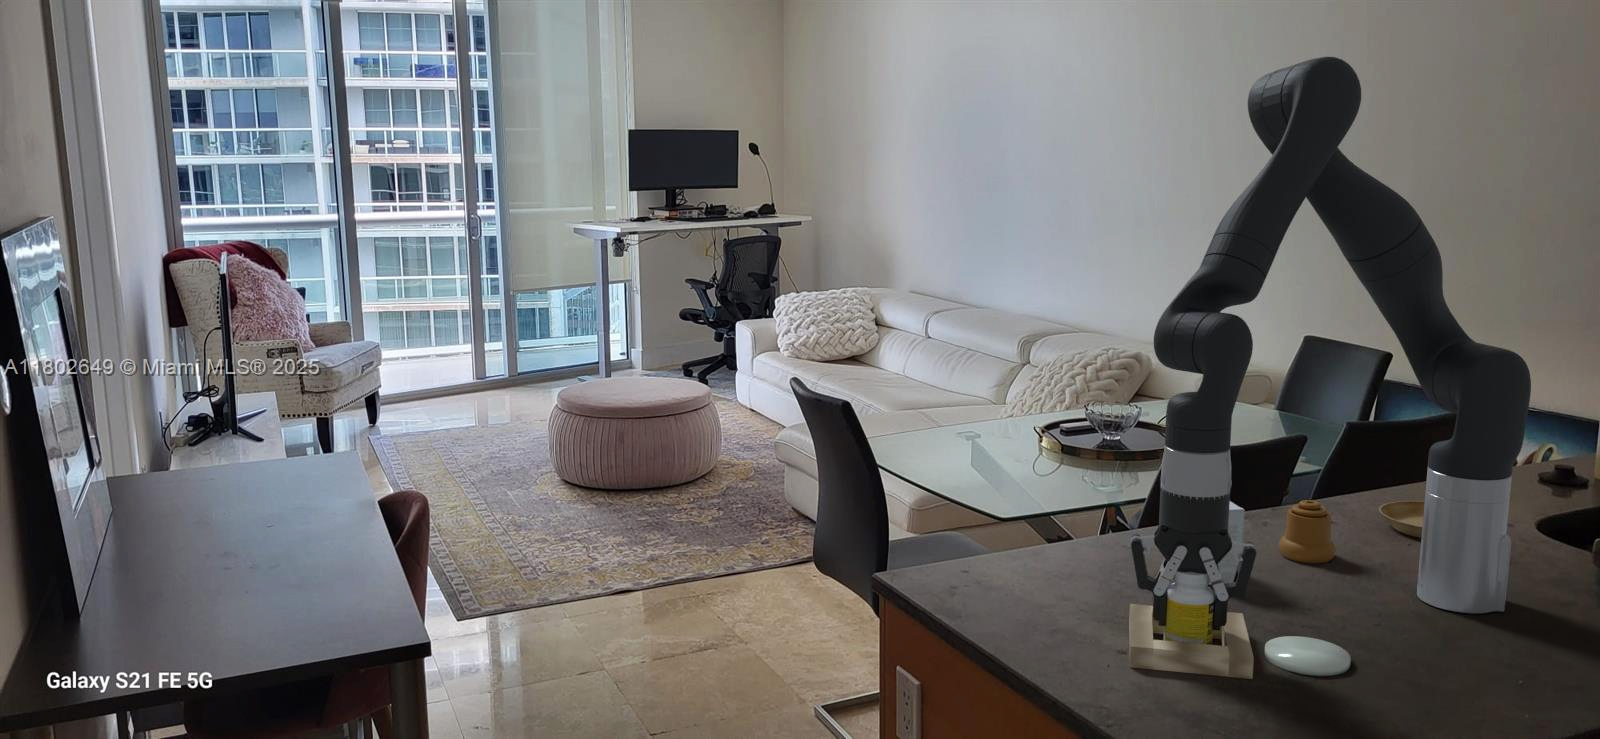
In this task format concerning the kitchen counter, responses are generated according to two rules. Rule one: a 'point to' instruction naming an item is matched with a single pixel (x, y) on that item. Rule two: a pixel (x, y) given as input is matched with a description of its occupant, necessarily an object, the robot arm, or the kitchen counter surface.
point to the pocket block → (1190, 648)
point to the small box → (1236, 534)
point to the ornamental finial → (1308, 534)
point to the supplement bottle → (1189, 609)
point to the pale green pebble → (1307, 656)
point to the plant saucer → (1405, 516)
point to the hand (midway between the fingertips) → (1188, 625)
